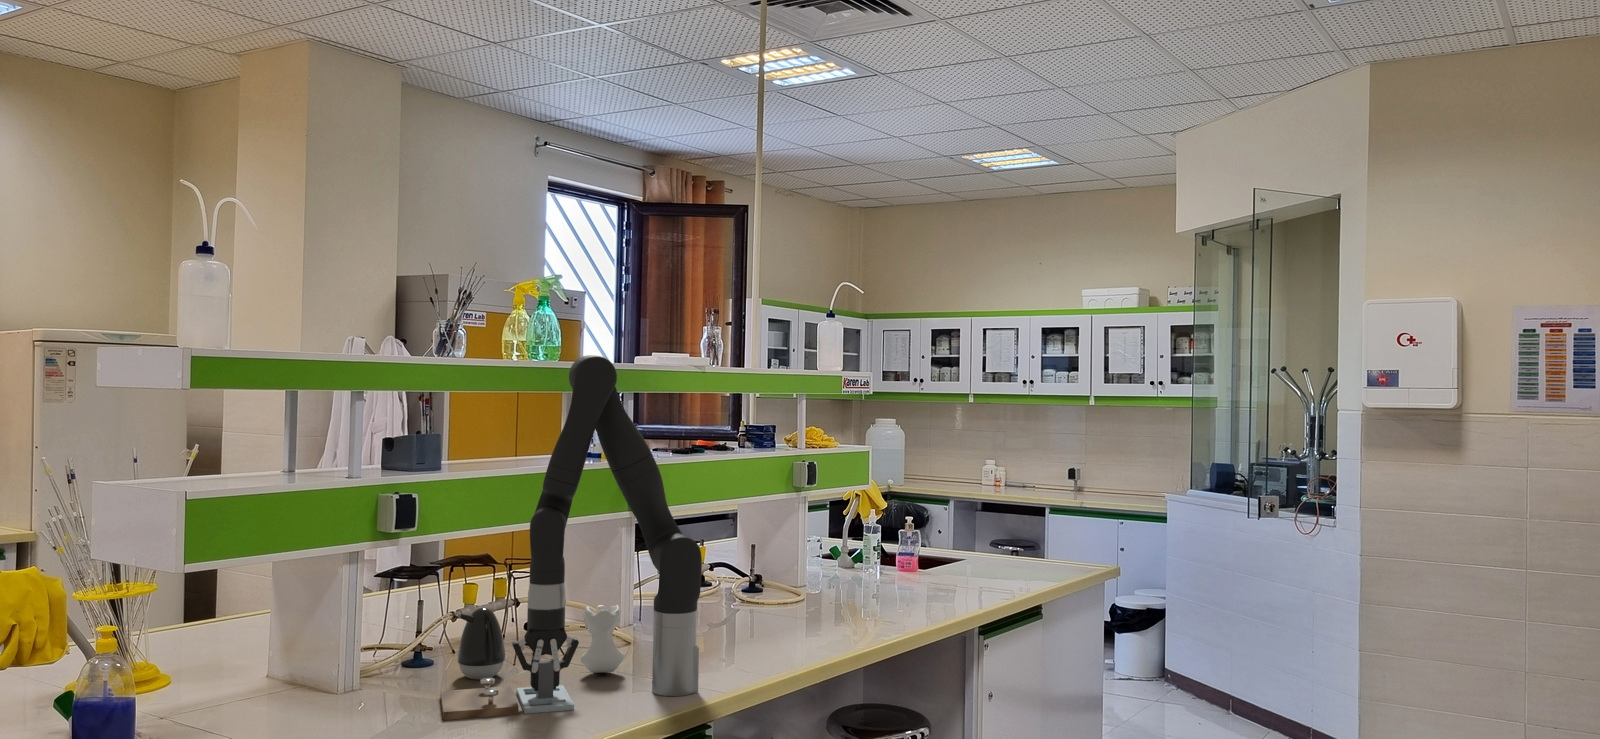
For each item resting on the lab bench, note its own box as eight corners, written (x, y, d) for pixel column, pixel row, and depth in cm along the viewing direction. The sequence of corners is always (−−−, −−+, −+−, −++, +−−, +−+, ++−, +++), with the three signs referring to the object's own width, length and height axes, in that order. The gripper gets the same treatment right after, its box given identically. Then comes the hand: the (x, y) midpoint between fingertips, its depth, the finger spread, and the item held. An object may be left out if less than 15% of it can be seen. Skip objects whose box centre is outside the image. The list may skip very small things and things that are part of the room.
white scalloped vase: (581, 680, 244) (582, 611, 245) (577, 668, 255) (579, 602, 256) (625, 677, 247) (626, 610, 247) (620, 666, 258) (621, 601, 258)
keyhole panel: (562, 689, 236) (563, 651, 237) (574, 709, 221) (574, 669, 222) (516, 692, 233) (517, 654, 233) (524, 713, 218) (525, 672, 218)
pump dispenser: (447, 676, 246) (449, 607, 246) (490, 668, 253) (491, 601, 254) (470, 685, 239) (471, 614, 239) (513, 677, 246) (515, 608, 246)
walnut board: (510, 693, 233) (511, 673, 233) (518, 714, 218) (518, 692, 218) (440, 698, 228) (440, 678, 228) (443, 720, 213) (443, 698, 213)
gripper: (578, 599, 234) (576, 682, 233) (509, 602, 229) (507, 687, 228) (583, 606, 227) (582, 691, 226) (513, 609, 222) (511, 696, 221)
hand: (544, 689), depth 227 cm, fingers closed on keyhole panel, 3 cm apart
